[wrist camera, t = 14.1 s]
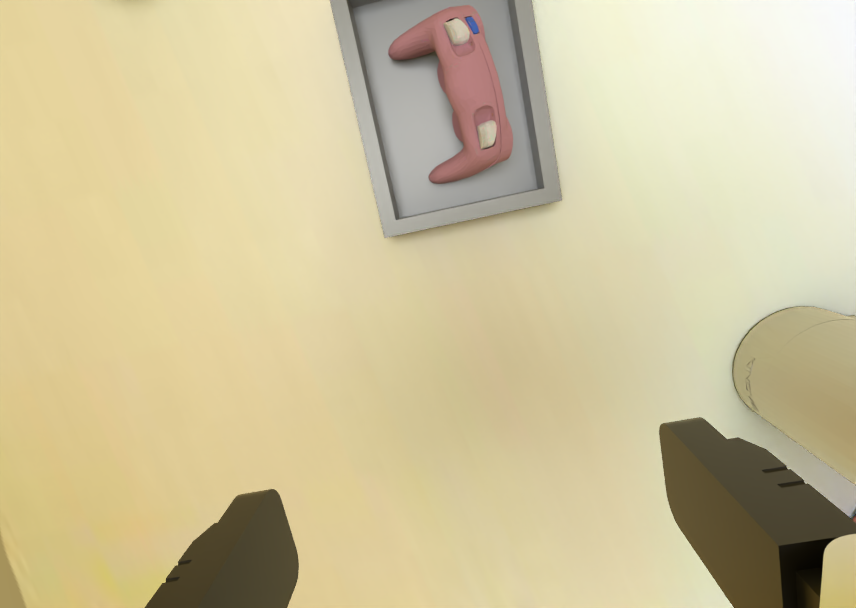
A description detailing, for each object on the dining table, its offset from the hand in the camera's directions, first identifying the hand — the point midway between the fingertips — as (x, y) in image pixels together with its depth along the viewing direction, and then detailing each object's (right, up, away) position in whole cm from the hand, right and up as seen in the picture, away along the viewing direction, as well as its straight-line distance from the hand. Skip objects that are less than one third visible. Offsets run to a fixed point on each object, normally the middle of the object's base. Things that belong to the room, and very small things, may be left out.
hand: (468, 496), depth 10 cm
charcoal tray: (+1, +18, +25) cm, 31 cm away
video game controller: (+1, +18, +24) cm, 30 cm away
